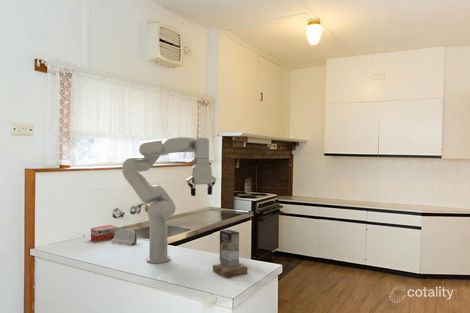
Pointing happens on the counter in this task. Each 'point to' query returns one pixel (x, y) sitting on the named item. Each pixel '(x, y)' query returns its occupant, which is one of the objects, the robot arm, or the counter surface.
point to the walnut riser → (229, 270)
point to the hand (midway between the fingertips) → (201, 195)
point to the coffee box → (229, 240)
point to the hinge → (125, 237)
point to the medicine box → (103, 233)
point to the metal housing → (229, 258)
